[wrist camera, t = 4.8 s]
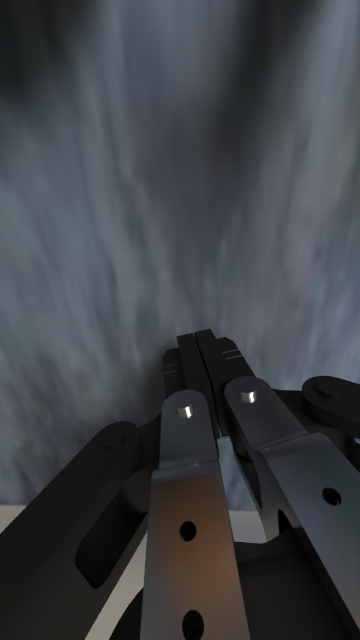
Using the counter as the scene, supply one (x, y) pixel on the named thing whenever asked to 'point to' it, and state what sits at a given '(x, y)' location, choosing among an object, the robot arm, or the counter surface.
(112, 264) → the counter surface
